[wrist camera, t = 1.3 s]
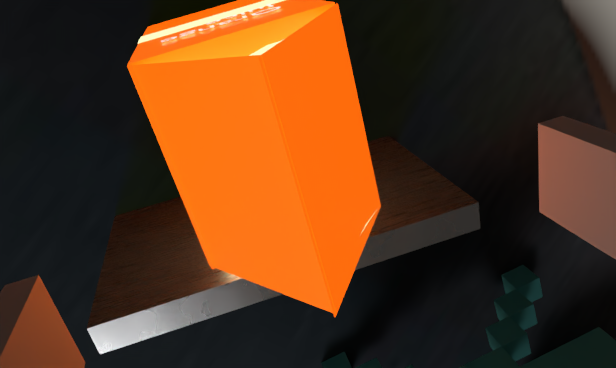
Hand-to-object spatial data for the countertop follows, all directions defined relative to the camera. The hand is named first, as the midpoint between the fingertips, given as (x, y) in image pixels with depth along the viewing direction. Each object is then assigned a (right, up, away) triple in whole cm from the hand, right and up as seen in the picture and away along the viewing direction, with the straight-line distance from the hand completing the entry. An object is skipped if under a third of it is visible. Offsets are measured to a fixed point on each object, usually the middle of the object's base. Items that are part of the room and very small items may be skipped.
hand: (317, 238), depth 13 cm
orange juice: (-5, +8, +19) cm, 22 cm away
